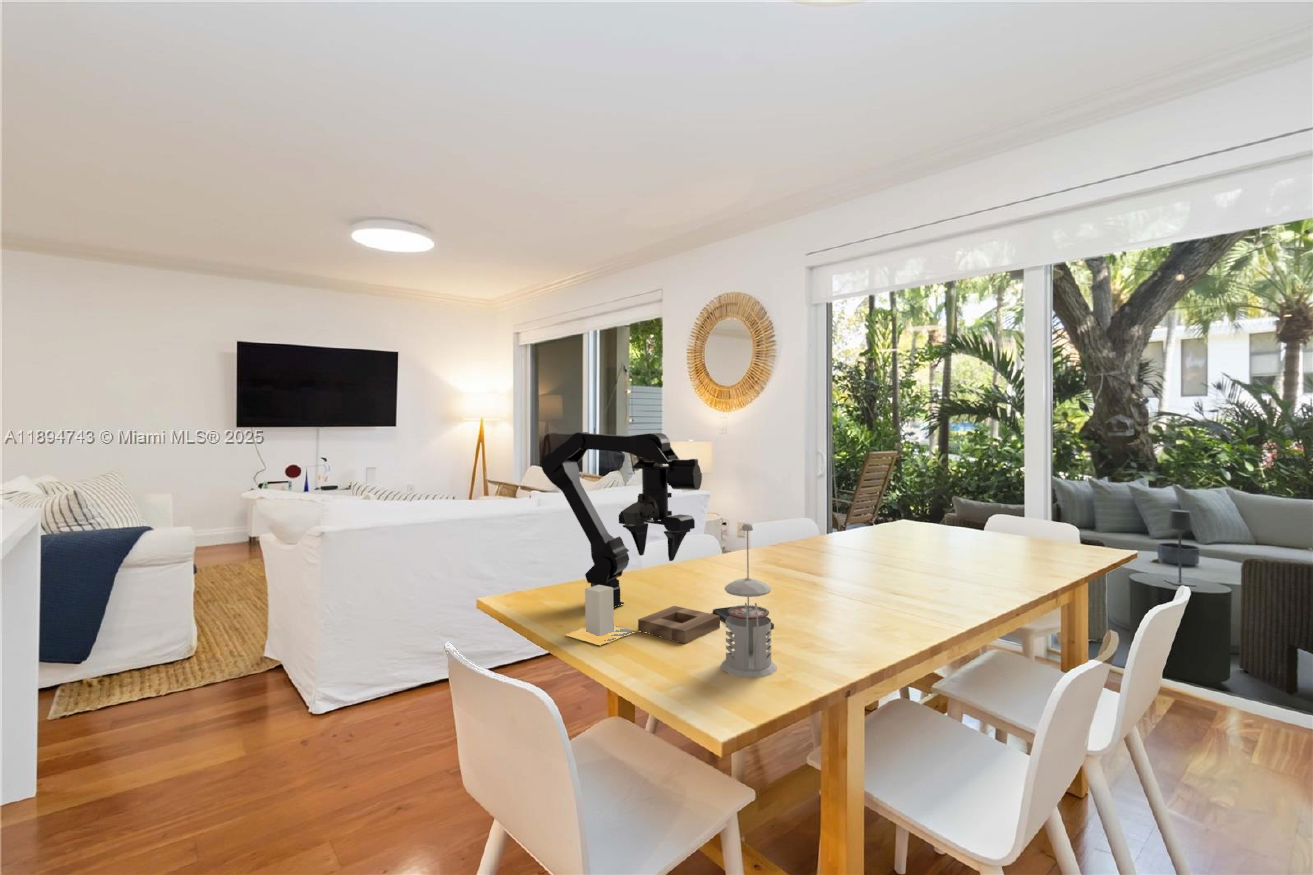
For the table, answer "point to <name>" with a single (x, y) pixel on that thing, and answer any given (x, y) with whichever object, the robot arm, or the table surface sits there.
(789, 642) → the table surface
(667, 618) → the walnut square frame
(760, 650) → the french press
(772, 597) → the table surface
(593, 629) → the cream block
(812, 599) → the table surface
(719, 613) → the phone
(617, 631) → the grey mat
